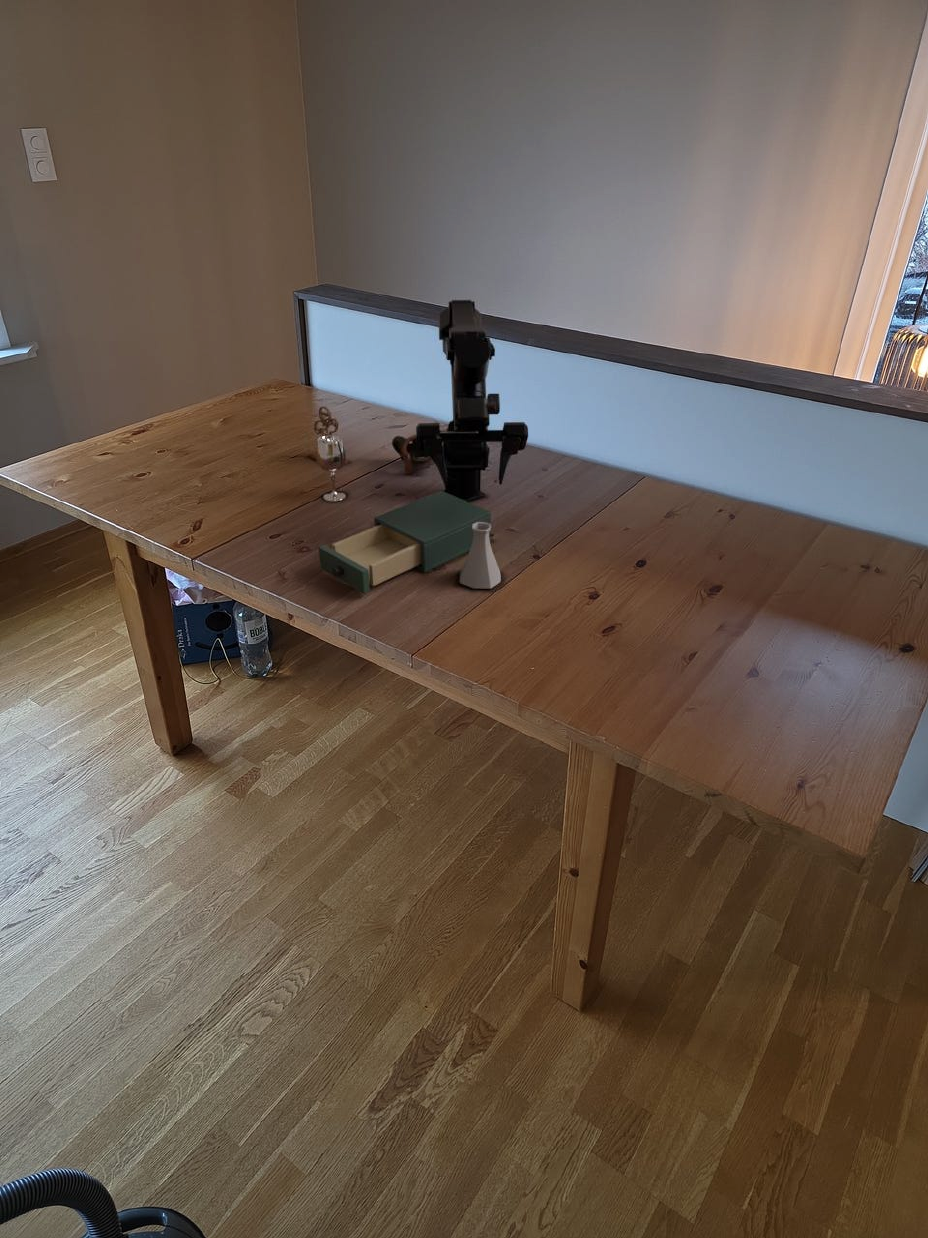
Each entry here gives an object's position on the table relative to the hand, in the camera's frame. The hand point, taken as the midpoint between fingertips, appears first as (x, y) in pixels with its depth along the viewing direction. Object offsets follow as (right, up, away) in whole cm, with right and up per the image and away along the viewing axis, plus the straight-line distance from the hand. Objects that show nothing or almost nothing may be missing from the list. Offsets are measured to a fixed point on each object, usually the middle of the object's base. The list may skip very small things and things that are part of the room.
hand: (473, 484), depth 134 cm
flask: (+1, -16, +1) cm, 16 cm away
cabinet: (-7, -9, +11) cm, 16 cm away
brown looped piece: (-32, +13, +44) cm, 55 cm away
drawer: (-17, -14, +2) cm, 22 cm away
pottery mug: (-12, +11, +41) cm, 44 cm away
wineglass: (-28, +2, +28) cm, 39 cm away
